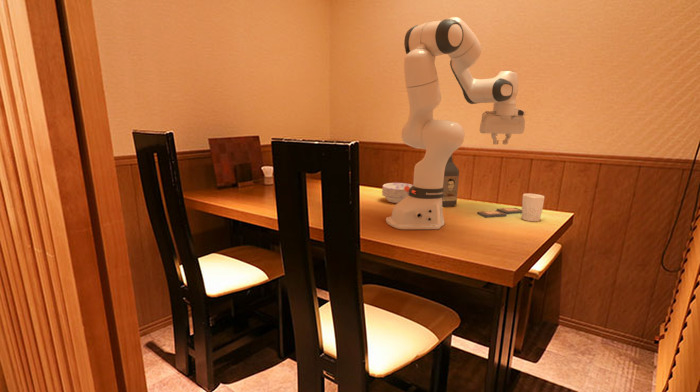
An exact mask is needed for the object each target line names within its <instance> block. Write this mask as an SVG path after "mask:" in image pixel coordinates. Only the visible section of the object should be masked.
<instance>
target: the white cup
mask: <svg viewBox="0 0 700 392" xmlns="http://www.w3.org/2000/svg"><path fill="white" fill-rule="evenodd" d="M544 202H545V195H542V194H539V193H537V194H536V193H523V194H522V202H521V204H522V206H521V210H522V213H521V219H522V220H524V221H527V222H540V220H541V217H542V213H543V208H544Z"/></svg>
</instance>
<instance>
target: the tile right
mask: <svg viewBox="0 0 700 392" xmlns="http://www.w3.org/2000/svg"><path fill="white" fill-rule="evenodd" d="M495 211H500V212H502V213H505V214H507V215H516V214H522V208H519V207H505V208H504V207H502V208H501V207H500V208H496V210H495Z"/></svg>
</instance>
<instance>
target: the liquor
mask: <svg viewBox="0 0 700 392" xmlns="http://www.w3.org/2000/svg"><path fill="white" fill-rule="evenodd" d="M459 178H460V170H459V168H458V167H457V165H456V164H455V163H454V161H453V153H452V154H451V156H450V157H449V159H448V161H447V163H446V167H445V172H444V180H443V187H444V196H443V201H442V208H454V207H455V206H456V205H457V202H458V190H459V180H460V179H459Z"/></svg>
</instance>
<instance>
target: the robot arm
mask: <svg viewBox="0 0 700 392" xmlns="http://www.w3.org/2000/svg"><path fill="white" fill-rule="evenodd" d="M403 44H404V50H405V51H404V52H405V53H406V55H405V57H404V59H403V71H404V72H403V73H404V81H405V86H406V91H407V97H408V103H409V115H408V119H407V120H406V123H404V124H403V127H402V129H401V138H402V141H403V143H404V144H405V145H407V146H409V147H412V148H414V149H421V150H425V154H424V156H423V158H422V159H421V160H419V161H418V162H417V163H415V165H414V167H413V168H414V170H413V184H412V185H413V186H412V187H411V188H410V187H408V186H405V187H404V190H405V191H406V192H409V195H408V196H407V197H406V198H404V199H403V200H402V201H400V202H399V203H395V204H394V206H393V208H392V212H391V216H387V217H386V218H385V222H386V224H388V225H389V226H390V227H393V228H395V229H398V230H440V229H441V227H443V226H444V225H445V219H444V212H443V207H442V201H443V196H444V187H443V180H444V172H445V167H446V163H447V161H448V159H449V157H450V156H451V154H452V155H453V153H454V152H455V151H457V150H458V149H459V148H460V147H462V145H463V143H464V139H465V130H464V128H463V126H462V125H461V124H460V123H459V122H455V121H452V120H448V119H434V110H435V109H436V108H438V106H439V105H440V103H441V101H442V95H441V88H440V83H439V76H438V72H437V71H438V70H437V67H436V64H435V60H436V57H437V56H438V57H439V56H442V55H448V57H449V58H450V61H449V62H450V63H449V66H450V69H451V72H452V73H453V75H454V77H455V79H456V82H457V83H458V85H459V87H460V89H461V91H462V95H463V98H464V99H465V100H466V102H467V103H468V104H470V105H477V104H493V106H492V107H493V108H492V110H486V111H484V112H482V114H481V121H480V126H479V132H480V134H490V135H491V138H492V145H499V142H500V140H499V139H497V137H498V134H499V135H500V134H501V135H504V134H505V137H504V139H503V140H502V145H508V144H509V141H510V139H511V138H512V135H514V134H515V135H516V134H517V135H522V134H523V133H524V132H525V127H526V119H525V116H526V111H525V110H523V109H521V108H519V107H517V101H516V100H517V95H518V91H519V90H518V88H519V75H518V73H517V72H516V71H512V70H501V71H499V72H498V74H497V75H496V76H495V77H491V78H481V79H480V78H479V79H478V78H474V77H473V75H472V73H471V71H470V69H469V68H471V67H473V66H474V64H476V63H477V62H478V60H479V59H480V57H481V54H482V44H481V42H480V40H479V39H478V37H477V35H476V34H475V33H474V31H473V30H472V29H471V28H470V27H469V26H468V24H467V23H466V22H465V21H464V20H463V19H462V18H460V17H458V16H452V17H449V18H446V19H443V20H436V21H435V20H434V21H428V22H424V23H421V24H416V25H414V26H412V27H410V28H409V29H408V30H407V31H406V33H405V35H404V43H403Z"/></svg>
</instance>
